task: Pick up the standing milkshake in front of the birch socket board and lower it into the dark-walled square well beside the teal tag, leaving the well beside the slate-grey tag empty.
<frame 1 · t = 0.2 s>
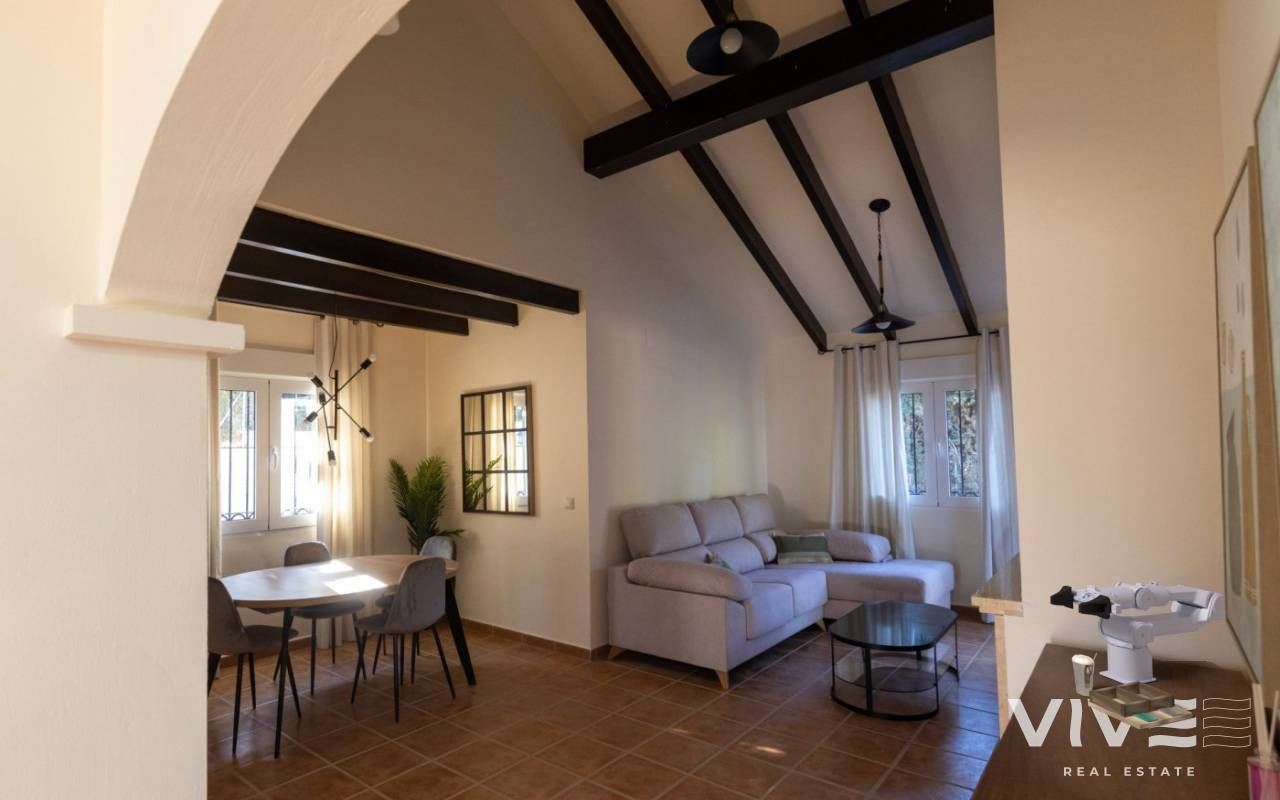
hand: (1065, 604, 163), 21 cm above the table, tool horizontal, fingers open, 7 cm apart
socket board: (1139, 711, 151), on the table
milkshake: (1086, 694, 161), on the table
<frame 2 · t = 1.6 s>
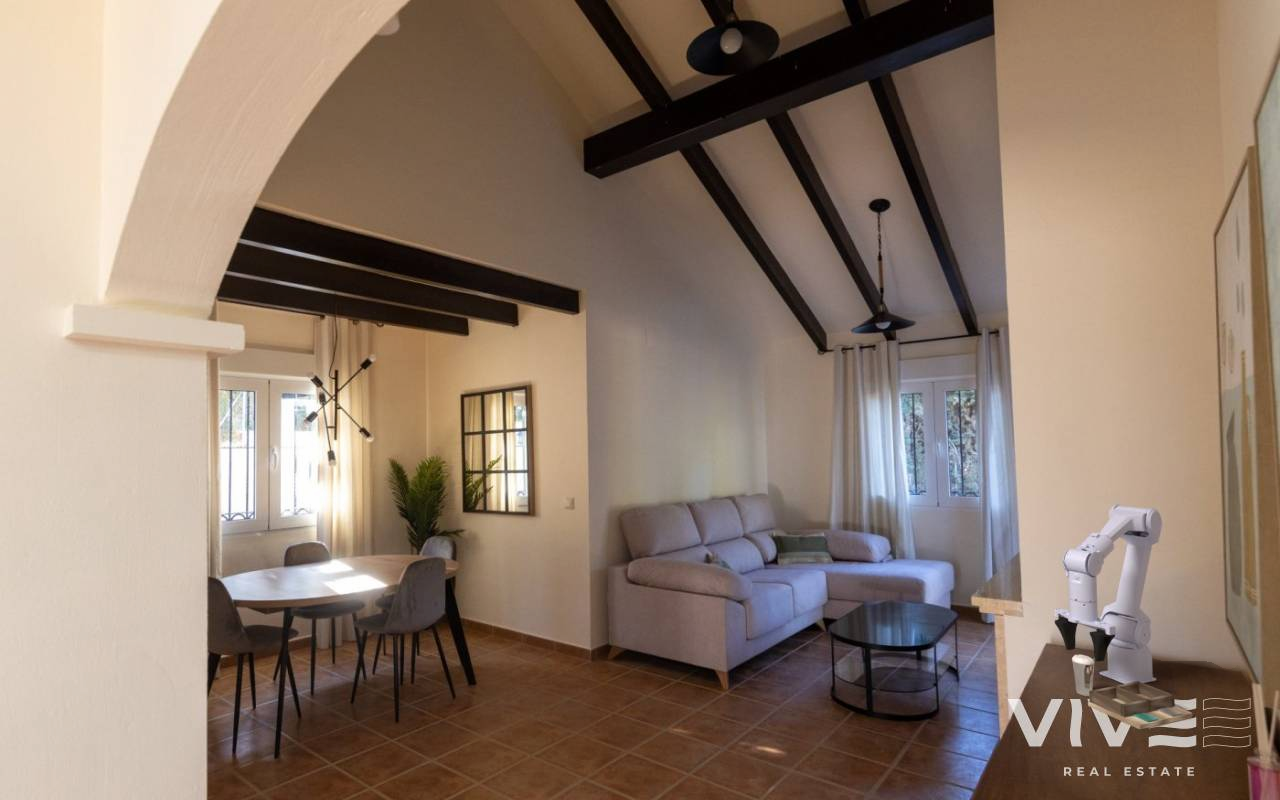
hand: (1084, 654, 161), 9 cm above the table, tool pointing down, fingers open, 7 cm apart
nothing on the table moved.
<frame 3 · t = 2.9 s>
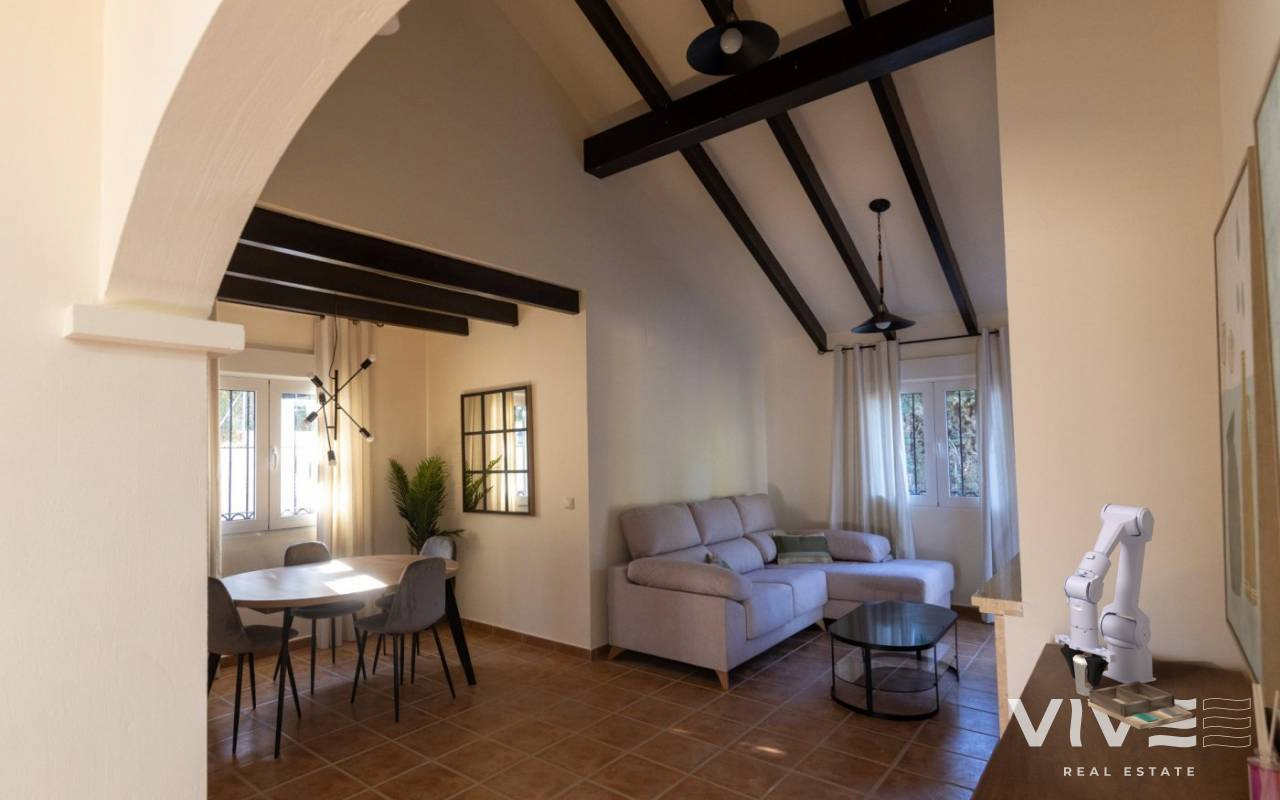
hand: (1085, 681, 161), 3 cm above the table, tool pointing down, fingers closed on milkshake, 4 cm apart
milkshake: (1085, 694, 161), on the table, touching gripper
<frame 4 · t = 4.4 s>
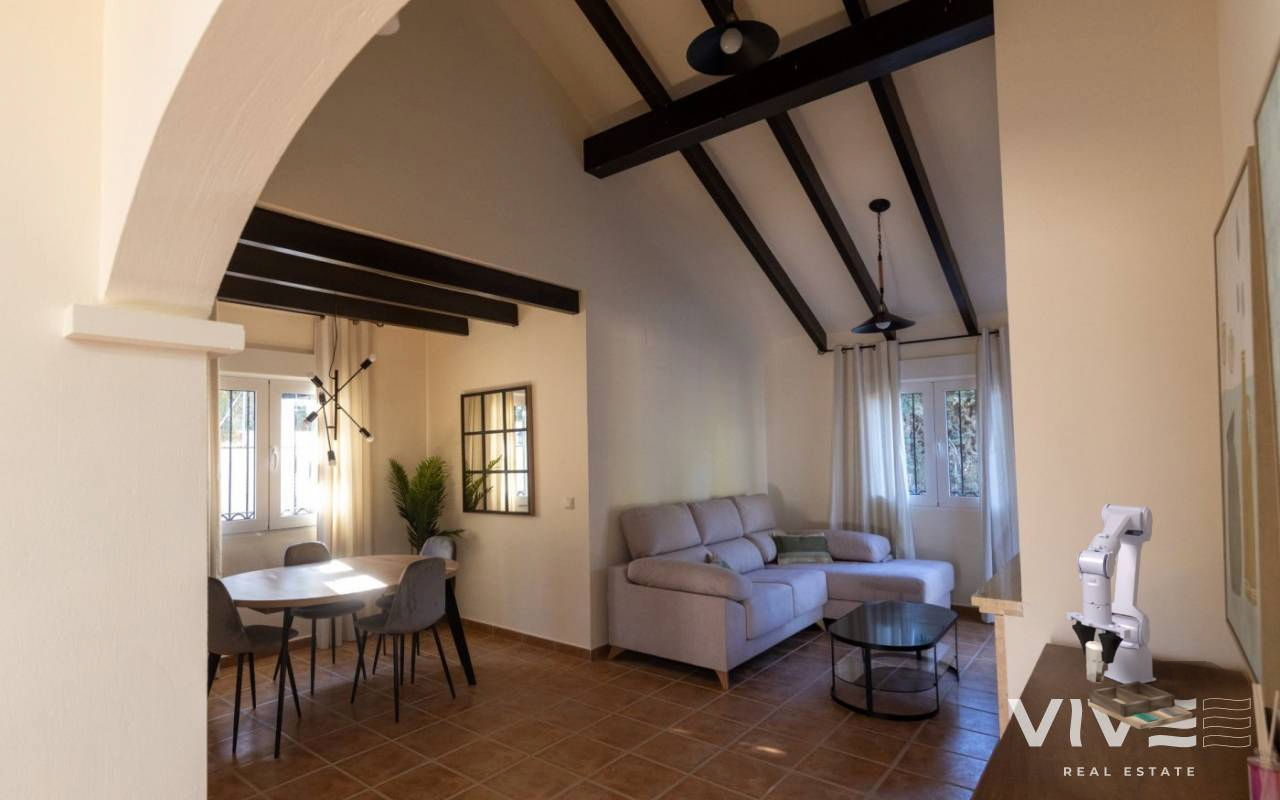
hand: (1098, 658, 157), 10 cm above the table, tool pointing down, fingers closed on milkshake, 4 cm apart
milkshake: (1096, 681, 157), point 5 cm above the table, touching gripper
when the fingers open (5 cm above the table, at t = 6.0 s): milkshake stays where it is, resting on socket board.
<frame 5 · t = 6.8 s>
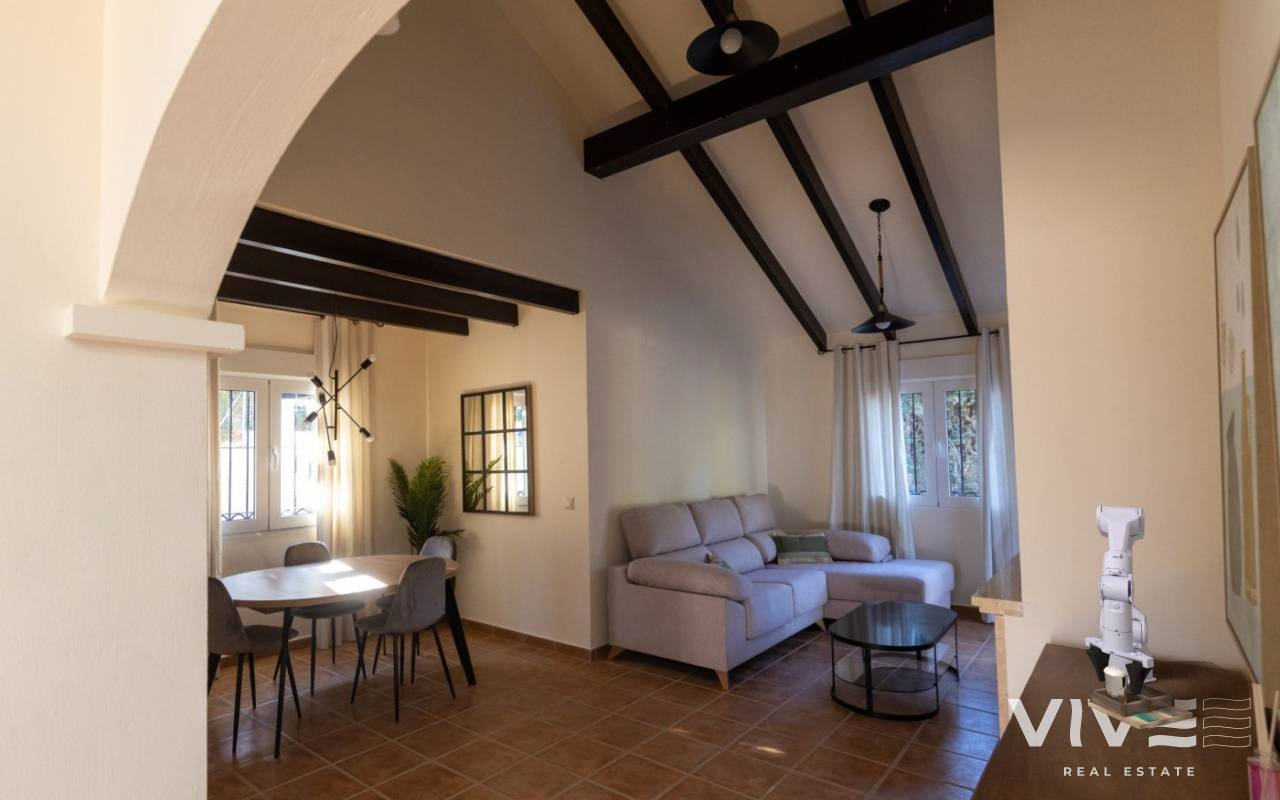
hand: (1119, 687, 152), 5 cm above the table, tool pointing down, fingers open, 7 cm apart
milkshake: (1118, 708, 151), point 1 cm above the table, touching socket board
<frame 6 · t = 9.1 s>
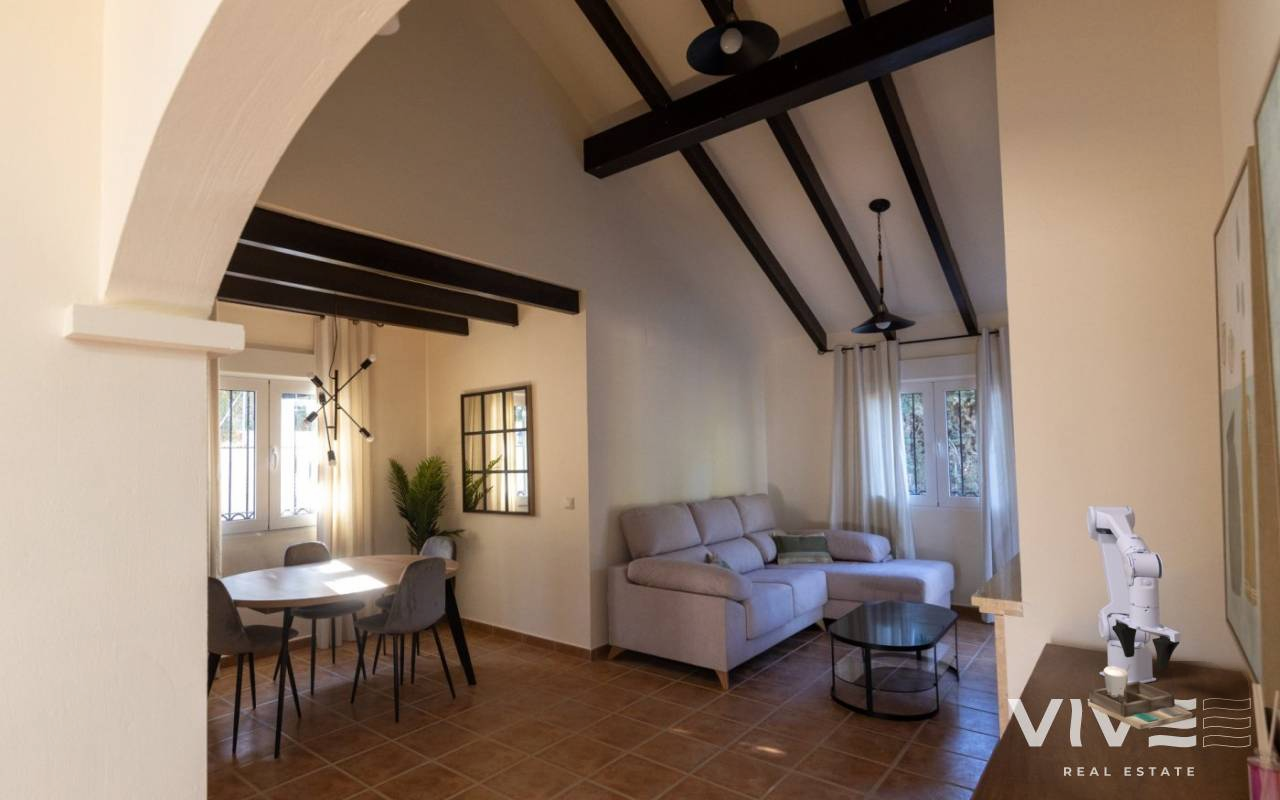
hand: (1145, 662, 154), 10 cm above the table, tool pointing down, fingers open, 7 cm apart
nothing on the table moved.
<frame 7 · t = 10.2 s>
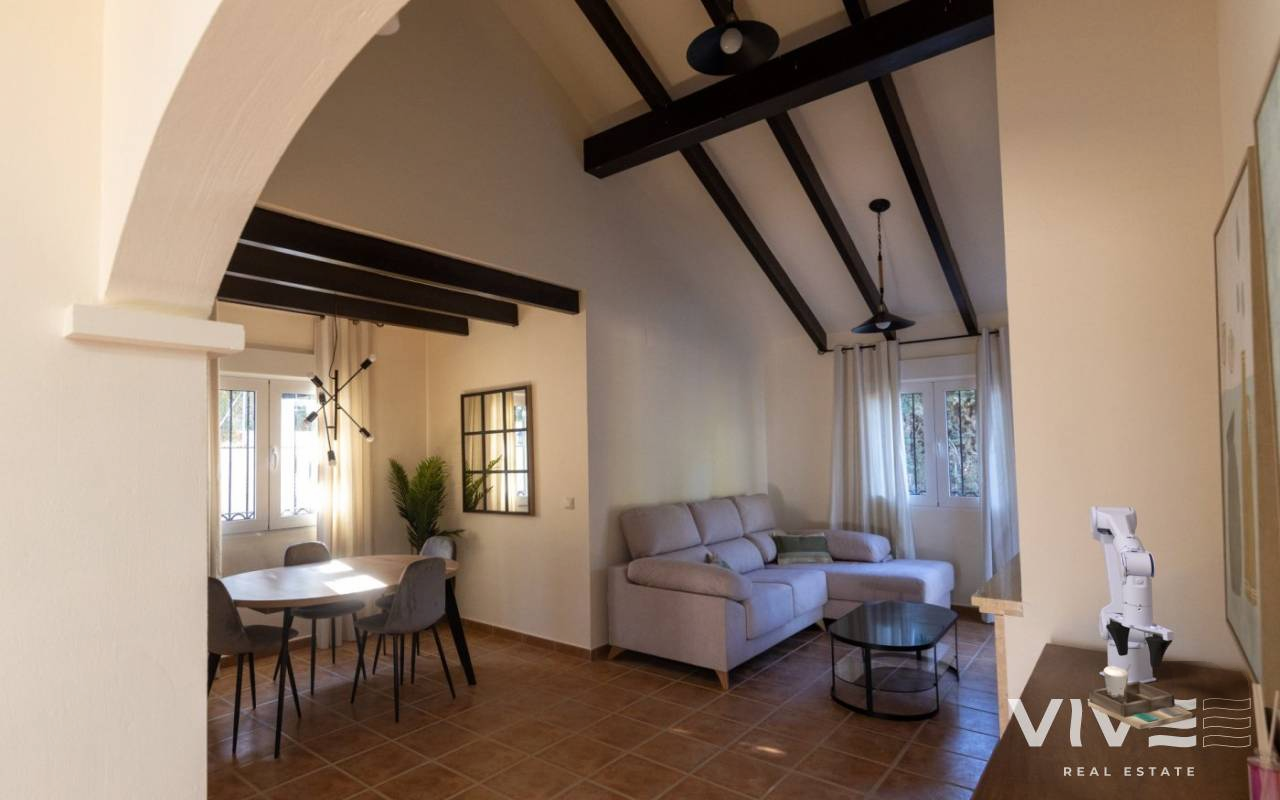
hand: (1139, 660, 155), 10 cm above the table, tool pointing down, fingers open, 7 cm apart
nothing on the table moved.
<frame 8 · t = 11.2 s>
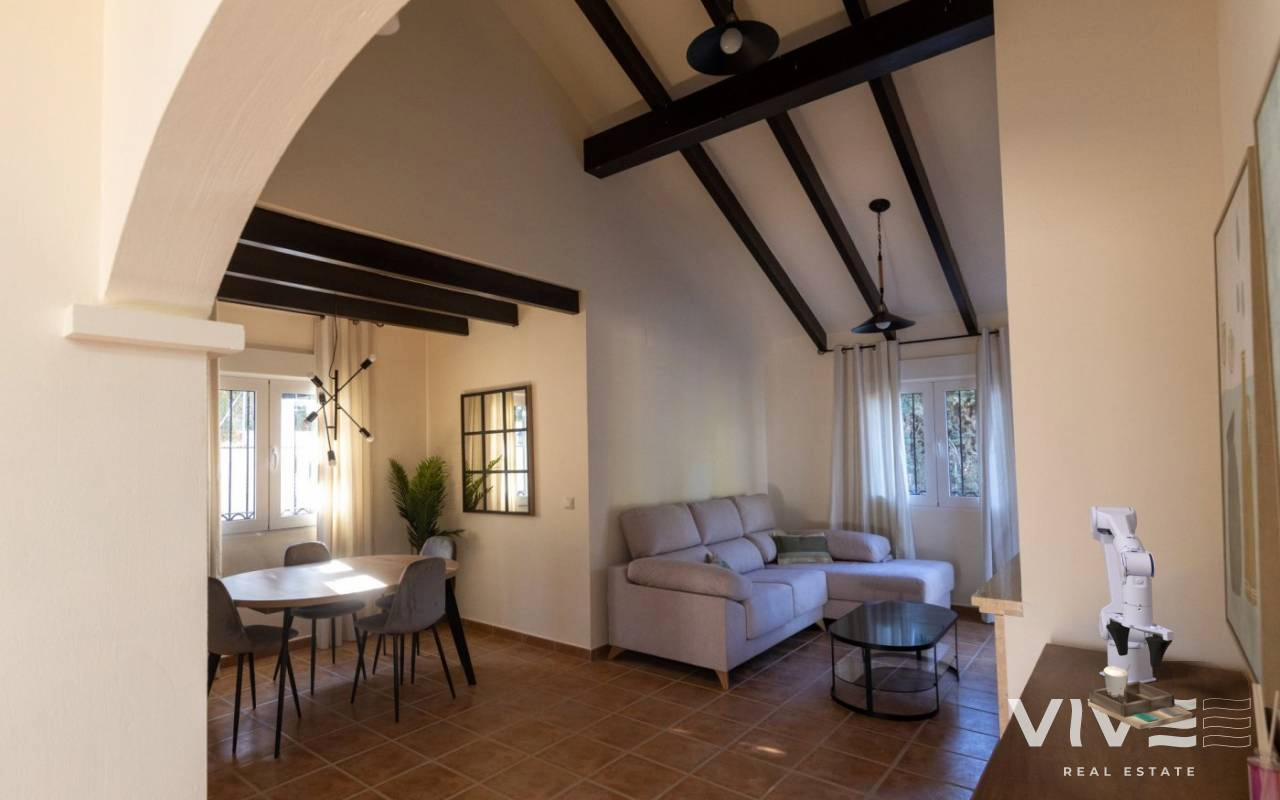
hand: (1139, 660, 155), 10 cm above the table, tool pointing down, fingers open, 7 cm apart
nothing on the table moved.
at the end: milkshake 0.7 cm from the target spot on the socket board, point 0.8 cm above the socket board's base; milkshake tilted 0°; the gripper is holding nothing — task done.
